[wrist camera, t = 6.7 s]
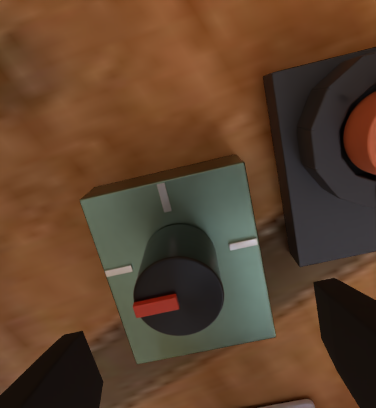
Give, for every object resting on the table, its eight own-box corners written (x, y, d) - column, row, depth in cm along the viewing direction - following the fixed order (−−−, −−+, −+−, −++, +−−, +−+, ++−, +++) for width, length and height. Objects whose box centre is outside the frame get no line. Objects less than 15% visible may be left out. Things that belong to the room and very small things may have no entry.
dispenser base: (427, 224, 18) (482, 250, 15) (289, 253, 19) (312, 285, 15) (425, 36, 15) (493, 15, 12) (262, 76, 16) (283, 67, 12)
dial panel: (265, 309, 20) (277, 339, 17) (142, 334, 20) (136, 367, 18) (236, 154, 17) (245, 162, 14) (93, 187, 17) (77, 201, 15)
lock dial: (207, 216, 15) (215, 251, 11) (222, 280, 16) (233, 332, 12) (135, 232, 15) (119, 272, 12) (155, 295, 16) (146, 349, 13)
